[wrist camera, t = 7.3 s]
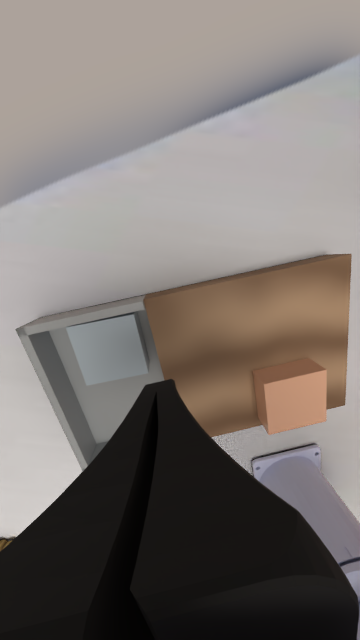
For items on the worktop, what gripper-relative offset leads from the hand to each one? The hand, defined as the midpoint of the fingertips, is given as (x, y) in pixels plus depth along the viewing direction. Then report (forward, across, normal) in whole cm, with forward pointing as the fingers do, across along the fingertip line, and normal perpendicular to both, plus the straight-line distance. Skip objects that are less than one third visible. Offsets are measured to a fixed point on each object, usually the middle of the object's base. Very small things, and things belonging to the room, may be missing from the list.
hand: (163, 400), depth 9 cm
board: (+9, -7, +3) cm, 12 cm away
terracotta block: (+7, -9, +7) cm, 14 cm away
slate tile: (+9, +4, 0) cm, 10 cm away
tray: (+9, +5, +3) cm, 11 cm away
